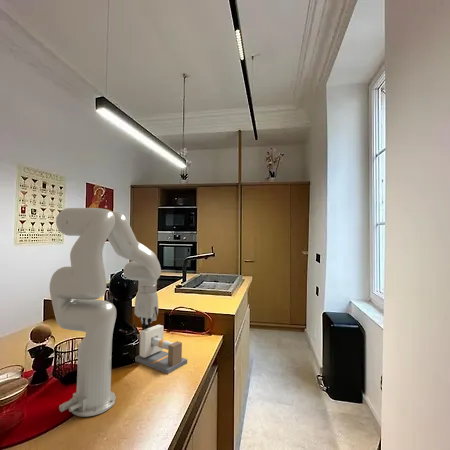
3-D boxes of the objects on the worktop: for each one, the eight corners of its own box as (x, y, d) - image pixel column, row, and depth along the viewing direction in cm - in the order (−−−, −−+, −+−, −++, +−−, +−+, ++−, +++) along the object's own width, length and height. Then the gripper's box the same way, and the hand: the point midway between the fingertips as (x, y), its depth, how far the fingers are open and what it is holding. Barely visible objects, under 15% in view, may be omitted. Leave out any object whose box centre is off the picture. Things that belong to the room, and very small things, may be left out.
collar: (144, 357, 116) (145, 332, 116) (139, 355, 117) (140, 330, 117) (163, 349, 124) (163, 325, 124) (158, 347, 126) (158, 324, 126)
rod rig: (167, 374, 108) (168, 349, 108) (129, 358, 120) (129, 336, 120) (187, 363, 117) (187, 340, 117) (149, 349, 129) (149, 329, 129)
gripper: (128, 288, 124) (127, 331, 124) (153, 293, 116) (152, 339, 116) (142, 285, 130) (140, 327, 130) (166, 290, 122) (165, 334, 122)
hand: (146, 332), depth 123 cm, fingers closed
